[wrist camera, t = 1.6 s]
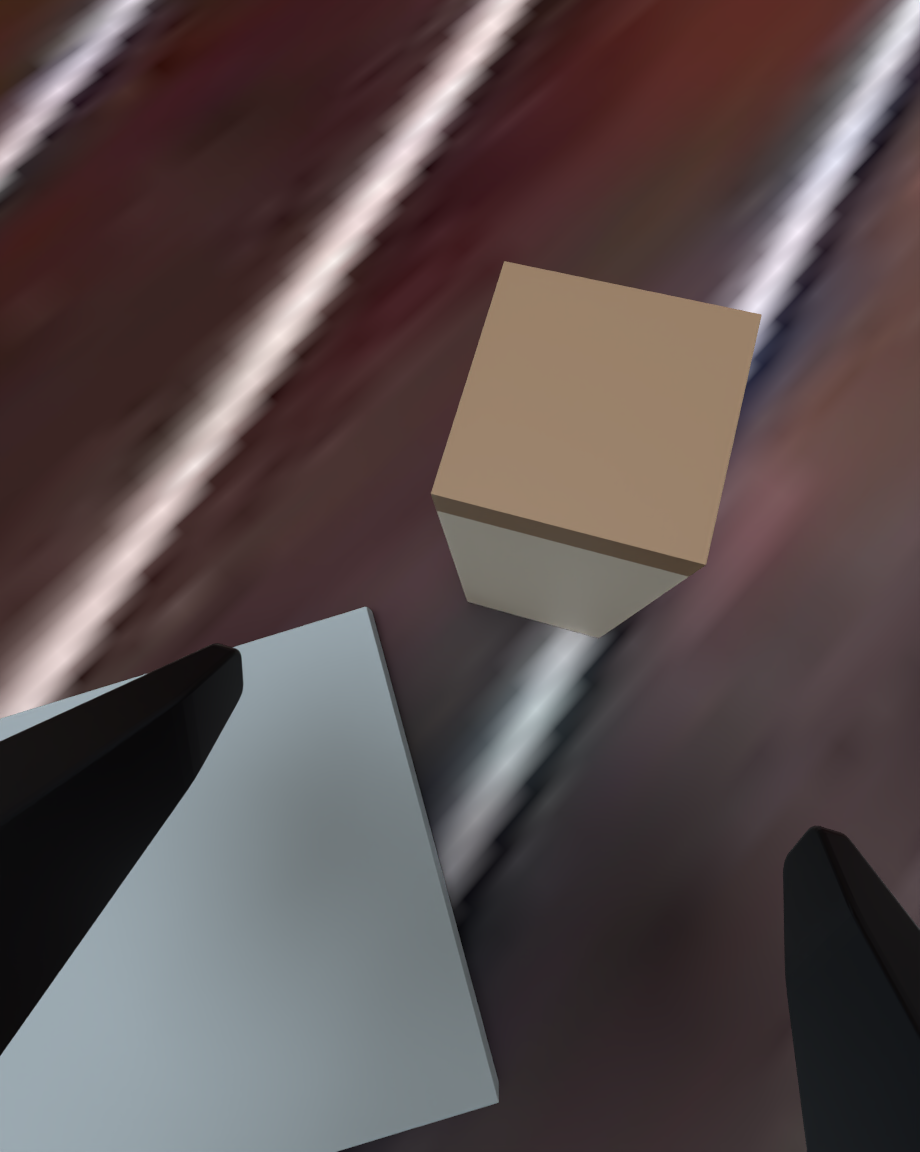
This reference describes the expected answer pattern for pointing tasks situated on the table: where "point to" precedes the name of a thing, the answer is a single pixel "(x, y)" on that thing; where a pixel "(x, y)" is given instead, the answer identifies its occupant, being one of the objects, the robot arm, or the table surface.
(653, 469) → the tan block
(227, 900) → the slate mat
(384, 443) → the table surface
